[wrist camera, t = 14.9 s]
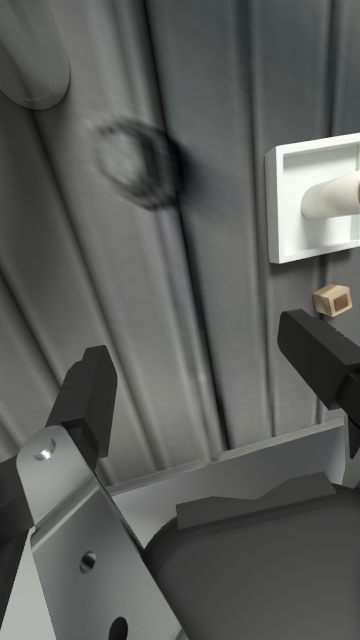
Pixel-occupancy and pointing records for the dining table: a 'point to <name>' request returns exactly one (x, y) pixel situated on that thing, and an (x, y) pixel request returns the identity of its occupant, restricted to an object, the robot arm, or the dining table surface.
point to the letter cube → (332, 299)
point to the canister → (333, 198)
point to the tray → (289, 187)
